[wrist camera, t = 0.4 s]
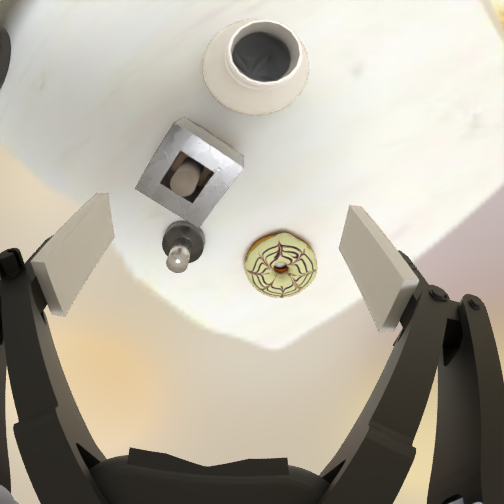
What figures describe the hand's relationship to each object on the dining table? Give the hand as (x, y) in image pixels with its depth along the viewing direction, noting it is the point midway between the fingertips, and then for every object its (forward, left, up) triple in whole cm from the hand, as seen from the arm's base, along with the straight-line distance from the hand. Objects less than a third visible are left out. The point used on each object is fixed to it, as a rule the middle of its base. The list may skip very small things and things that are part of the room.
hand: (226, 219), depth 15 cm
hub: (+2, -16, -24) cm, 29 cm away
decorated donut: (+16, -11, -24) cm, 31 cm away
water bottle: (-4, +8, -24) cm, 25 cm away
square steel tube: (-3, -4, -18) cm, 19 cm away
